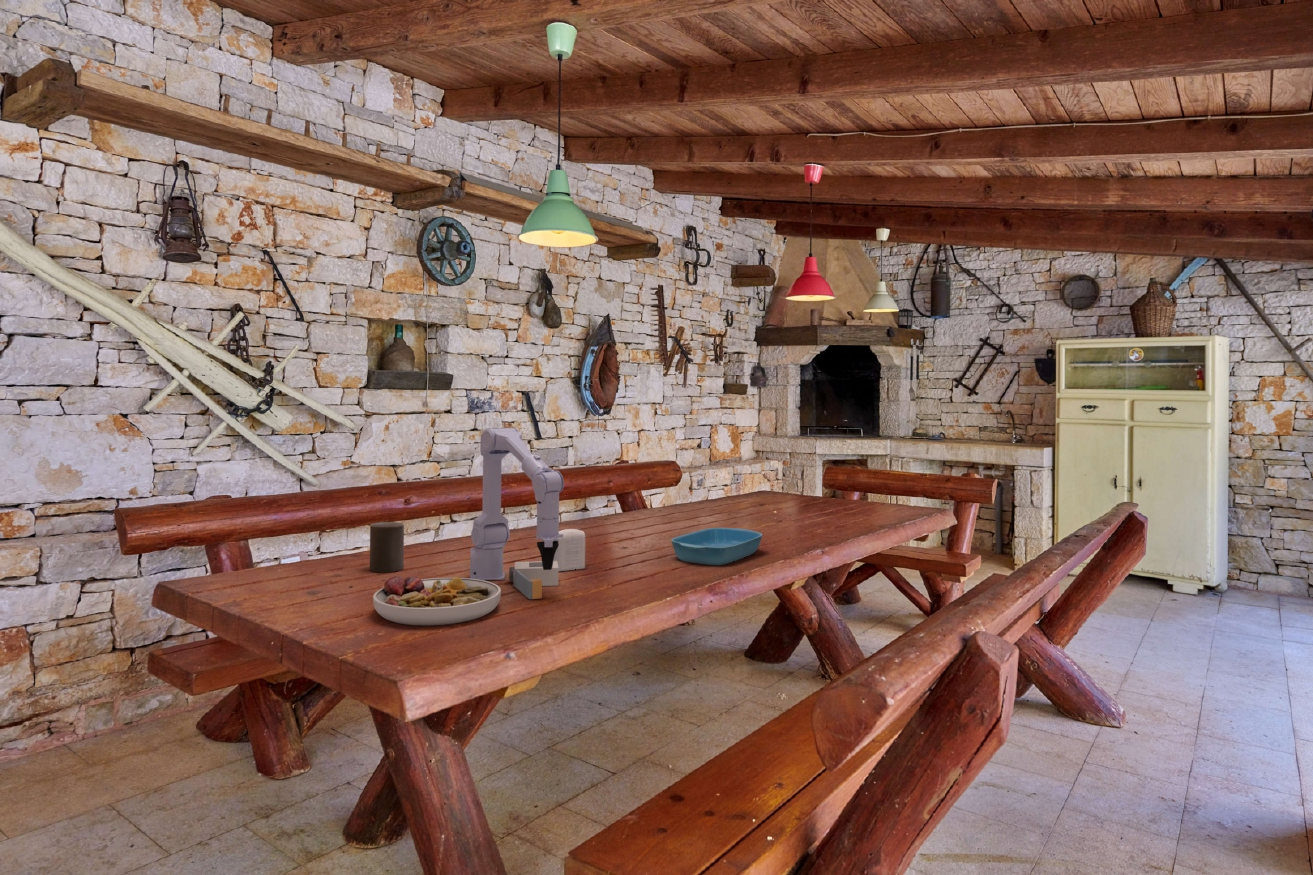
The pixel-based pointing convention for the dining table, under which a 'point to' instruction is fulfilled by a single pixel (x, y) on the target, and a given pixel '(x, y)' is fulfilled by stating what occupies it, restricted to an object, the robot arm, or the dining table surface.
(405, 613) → the bowl
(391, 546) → the pillar candle
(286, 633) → the dining table surface
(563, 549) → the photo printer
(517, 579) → the grey and orange bar
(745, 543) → the casserole dish
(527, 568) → the camera housing
